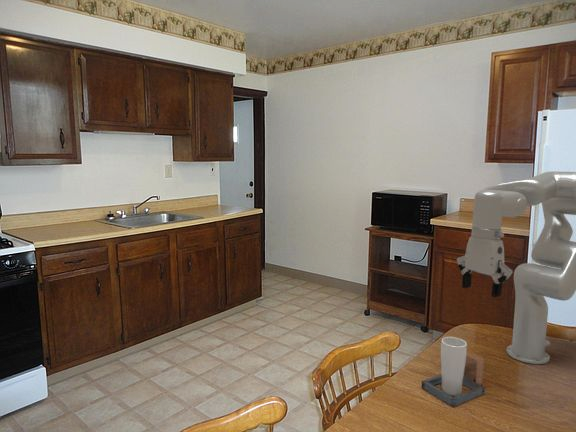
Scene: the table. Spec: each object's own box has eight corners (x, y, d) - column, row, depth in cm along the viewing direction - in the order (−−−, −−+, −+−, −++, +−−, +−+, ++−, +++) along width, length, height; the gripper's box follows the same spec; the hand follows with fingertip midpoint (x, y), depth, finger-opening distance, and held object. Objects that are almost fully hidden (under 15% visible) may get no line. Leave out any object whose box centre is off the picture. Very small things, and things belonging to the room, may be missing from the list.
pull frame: (460, 372, 128) (461, 348, 127) (493, 389, 118) (495, 363, 117) (421, 387, 120) (422, 361, 119) (453, 407, 110) (454, 379, 109)
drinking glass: (466, 399, 114) (469, 348, 112) (440, 396, 115) (443, 345, 113) (461, 386, 120) (464, 337, 118) (437, 383, 122) (439, 335, 120)
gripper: (522, 238, 113) (516, 298, 115) (468, 229, 128) (463, 283, 130) (506, 239, 110) (500, 302, 111) (452, 230, 124) (447, 285, 126)
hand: (480, 291), depth 121 cm, fingers open, 9 cm apart
